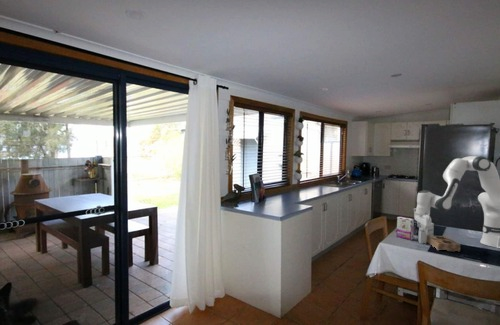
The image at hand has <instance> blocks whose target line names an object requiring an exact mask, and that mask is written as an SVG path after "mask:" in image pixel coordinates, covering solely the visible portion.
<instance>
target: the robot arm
mask: <svg viewBox="0 0 500 325" xmlns="http://www.w3.org/2000/svg"><path fill="white" fill-rule="evenodd" d="M467 171H470V172H471V171H472V172H473V171H475V172H476V171H477V173H478V178H479V182H480V186H481V188H482V189H483V190H484V191H485V192H481V193H480V194H479V195H478V196H477V201H478V202H479V203H480V205H481V207H482V208H481V209H482V211H483V224H482V236H481V239H480V240H479V242H480V243H481V244H483V245H485V246H488V247H493V248H496V249H500V174H499V171H498V170H497V167H496V166H495V163H493V162H492V161H490V159H488V158H487V157H485V156H481V155H480V156H478V155H469V156H468V155H465V156H462V157H460V158H458V157H457V158H454V159H453V160H452V161H451V162H449V164H448V166H447V167H446V168H445V170H444V171H443V174H442V178H443V180H444V181H445V182H446V183H447V188H446V190H445V192H444V194H443V195H442V196H440V195H437V194H434V193H432V192H431V191H430V190H425V189H424V190H420V191H418V193H417V196H416V208H415V207H414V208H413V213H414V214H413V219H414V221H416V224H417V227H418V228H419V227H421V224H423V225H424V228H423V230H424V231H427V228H428V227H431V223H432V217H431V216H430V215H431V208H434V209H437V210H439V211H440V212H447V211H450V210H451V208H452V206H453V201H454V199H455V197H456V195H457V192H458V191H459V188H460V187H461V186H460V185H461V180H462V178H463V176H464V174H465V172H467ZM420 223H421V224H420Z"/></svg>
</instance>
